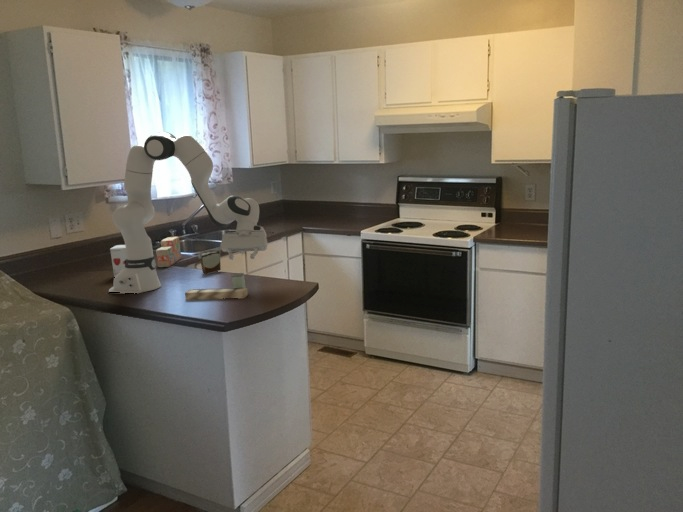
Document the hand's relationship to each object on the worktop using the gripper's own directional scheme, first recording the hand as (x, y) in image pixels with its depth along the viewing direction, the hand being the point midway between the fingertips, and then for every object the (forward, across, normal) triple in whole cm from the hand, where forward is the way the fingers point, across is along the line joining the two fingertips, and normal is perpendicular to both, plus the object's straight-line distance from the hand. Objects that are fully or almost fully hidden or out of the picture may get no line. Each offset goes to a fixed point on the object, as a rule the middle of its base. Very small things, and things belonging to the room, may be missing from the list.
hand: (241, 258), depth 257 cm
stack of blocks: (-30, -58, +49) cm, 82 cm away
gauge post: (+14, 0, +4) cm, 15 cm away
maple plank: (+19, -8, 0) cm, 20 cm away
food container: (-13, -28, +32) cm, 45 cm away
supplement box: (-11, -70, +30) cm, 77 cm away
